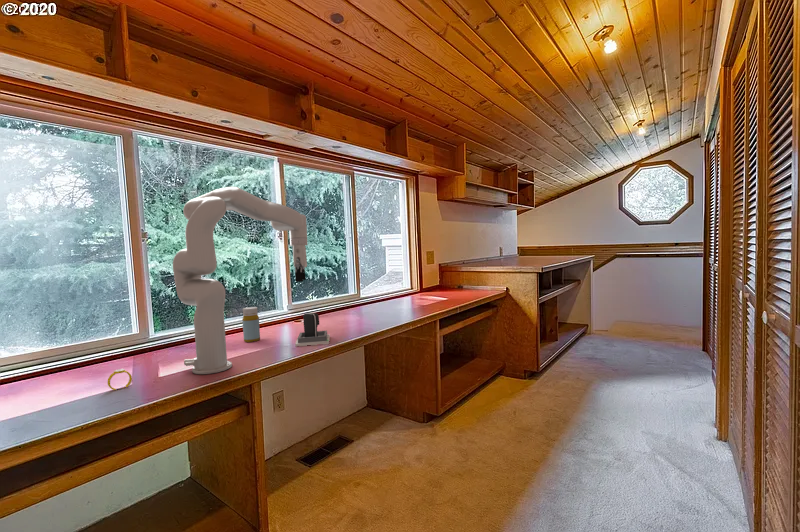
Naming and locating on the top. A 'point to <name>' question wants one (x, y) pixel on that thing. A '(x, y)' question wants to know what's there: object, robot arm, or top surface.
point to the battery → (310, 324)
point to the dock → (313, 339)
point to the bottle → (251, 324)
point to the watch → (117, 373)
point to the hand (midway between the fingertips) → (300, 280)
